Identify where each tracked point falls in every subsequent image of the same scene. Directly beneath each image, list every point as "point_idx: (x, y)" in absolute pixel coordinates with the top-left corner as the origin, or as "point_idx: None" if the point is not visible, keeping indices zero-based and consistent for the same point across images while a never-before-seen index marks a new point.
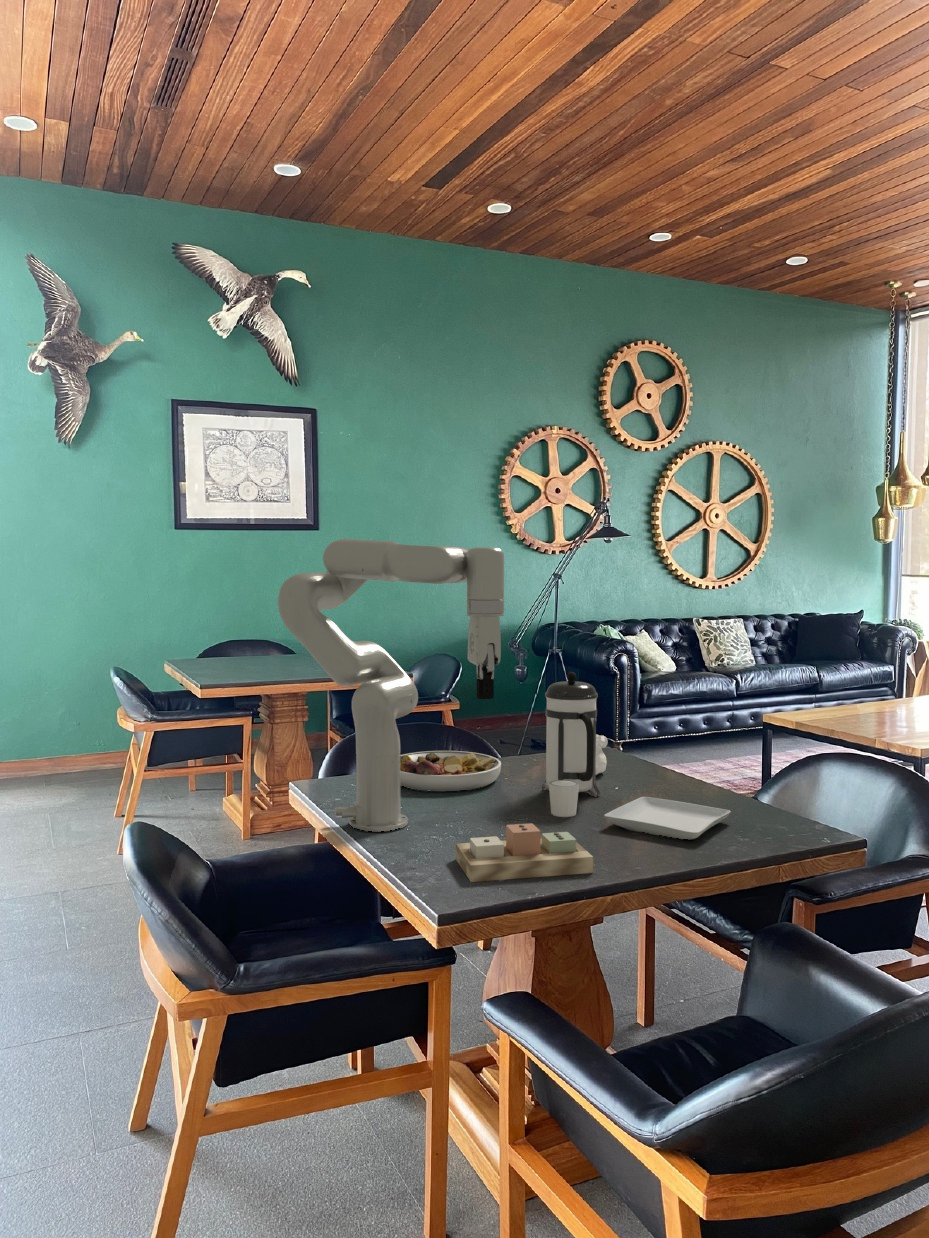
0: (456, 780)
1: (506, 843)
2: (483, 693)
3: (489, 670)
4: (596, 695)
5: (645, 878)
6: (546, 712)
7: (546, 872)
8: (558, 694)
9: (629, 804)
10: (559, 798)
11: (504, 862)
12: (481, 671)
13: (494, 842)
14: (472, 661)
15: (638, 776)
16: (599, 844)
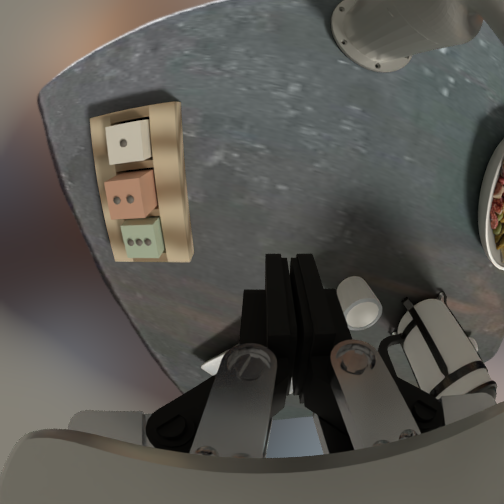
0: (484, 195)
1: (147, 171)
2: (244, 293)
3: (77, 420)
4: None
5: (112, 289)
6: (475, 365)
7: None
8: None
9: None
10: (345, 296)
11: (95, 159)
12: (206, 411)
13: (118, 153)
14: (283, 491)
15: None
16: (216, 289)
